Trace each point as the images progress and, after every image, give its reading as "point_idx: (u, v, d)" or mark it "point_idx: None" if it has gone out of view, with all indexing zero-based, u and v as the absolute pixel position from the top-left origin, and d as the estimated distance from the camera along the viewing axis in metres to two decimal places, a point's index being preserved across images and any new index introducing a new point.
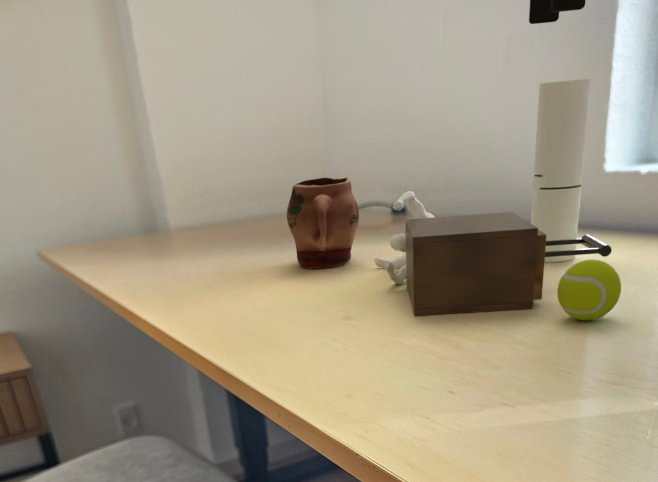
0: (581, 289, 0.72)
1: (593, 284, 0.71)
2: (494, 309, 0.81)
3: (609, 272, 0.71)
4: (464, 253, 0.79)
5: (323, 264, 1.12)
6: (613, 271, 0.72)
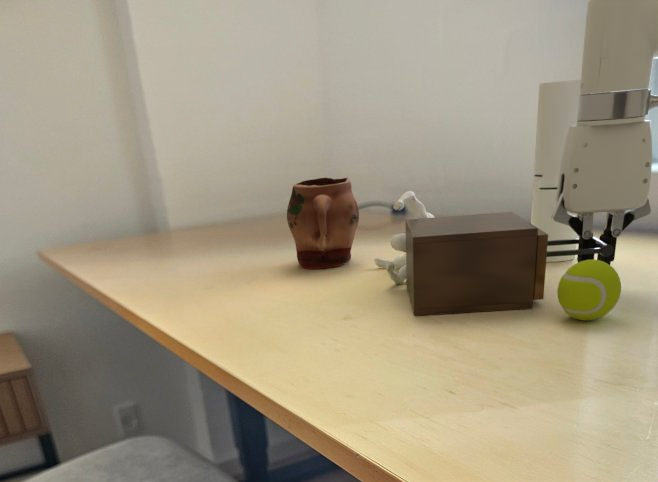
0: (581, 289, 0.72)
1: (593, 284, 0.71)
2: (494, 309, 0.81)
3: (609, 272, 0.71)
4: (464, 253, 0.79)
5: (323, 264, 1.12)
6: (613, 271, 0.72)
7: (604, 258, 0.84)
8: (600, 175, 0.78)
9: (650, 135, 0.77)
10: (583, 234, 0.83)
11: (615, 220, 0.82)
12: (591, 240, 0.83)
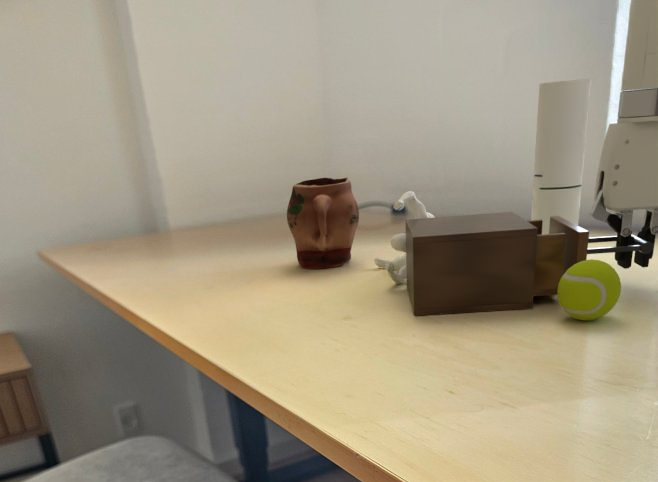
0: (581, 289, 0.72)
1: (593, 284, 0.71)
2: (494, 309, 0.81)
3: (609, 272, 0.71)
4: (464, 253, 0.79)
5: (323, 264, 1.12)
6: (613, 271, 0.72)
7: (642, 255, 0.83)
8: (641, 172, 0.78)
9: None
10: (622, 231, 0.82)
11: (654, 217, 0.81)
12: (630, 237, 0.82)
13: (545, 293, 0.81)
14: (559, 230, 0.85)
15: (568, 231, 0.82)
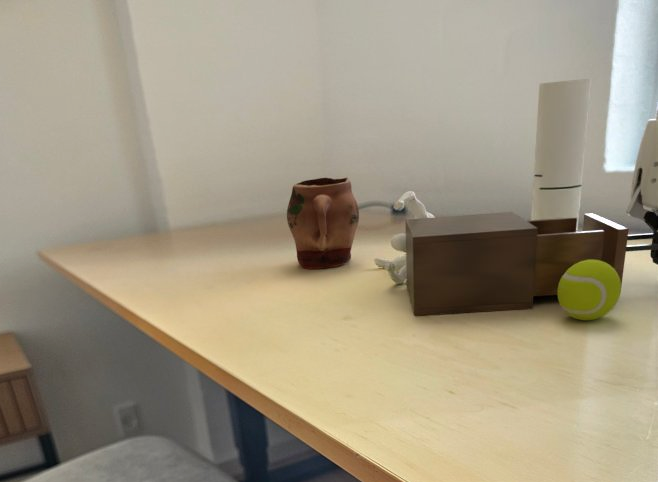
0: (581, 289, 0.72)
1: (593, 284, 0.71)
2: (494, 309, 0.81)
3: (609, 272, 0.71)
4: (464, 253, 0.79)
5: (323, 264, 1.12)
6: (613, 271, 0.72)
7: None
8: None
9: None
10: None
11: None
12: None
13: None
14: (594, 228, 0.85)
15: (605, 229, 0.81)
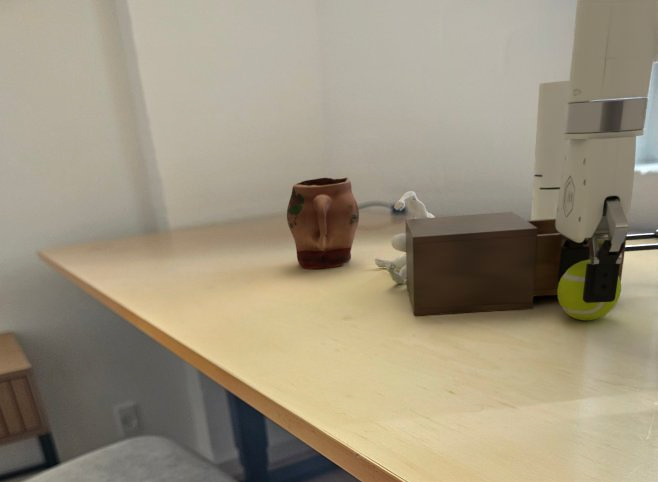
0: (581, 289, 0.72)
1: None
2: (494, 309, 0.81)
3: None
4: (464, 253, 0.79)
5: (323, 264, 1.12)
6: None
7: None
8: None
9: None
10: None
11: None
12: (619, 264, 0.68)
13: None
14: None
15: None
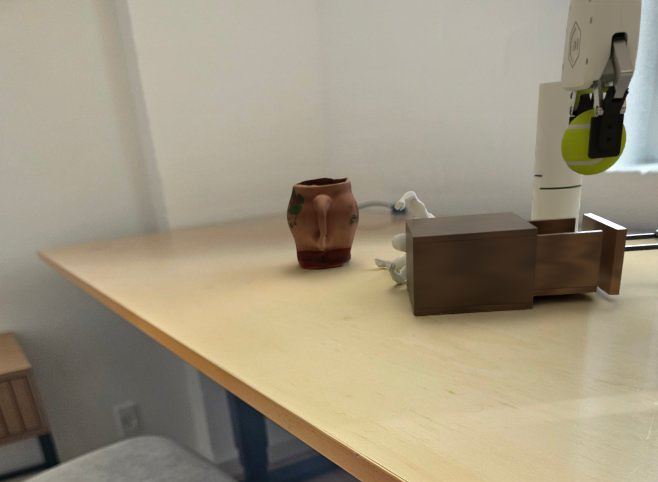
0: (585, 136, 0.70)
1: None
2: (494, 309, 0.81)
3: None
4: (464, 253, 0.79)
5: (323, 264, 1.12)
6: None
7: None
8: None
9: None
10: (625, 107, 0.67)
11: None
12: (623, 115, 0.68)
13: (581, 291, 0.81)
14: (593, 228, 0.85)
15: (604, 229, 0.81)
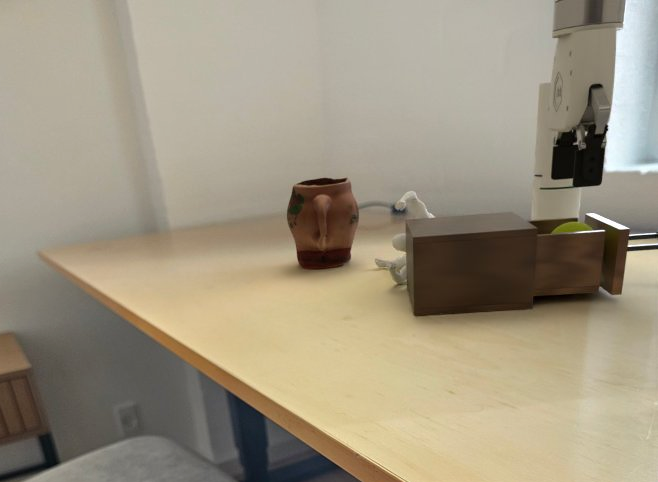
0: None
1: None
2: (494, 309, 0.81)
3: (588, 230, 0.82)
4: (464, 253, 0.79)
5: (323, 264, 1.12)
6: (591, 230, 0.82)
7: None
8: None
9: None
10: (605, 142, 0.74)
11: None
12: (604, 149, 0.75)
13: (583, 291, 0.81)
14: (596, 228, 0.85)
15: (606, 229, 0.81)
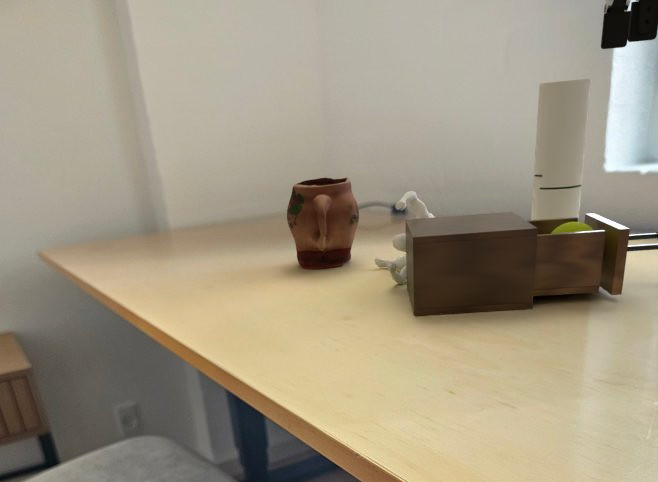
0: None
1: None
2: (494, 309, 0.81)
3: (588, 230, 0.82)
4: (464, 253, 0.79)
5: (323, 264, 1.12)
6: (591, 230, 0.82)
7: (625, 34, 0.86)
8: None
9: None
10: None
11: None
12: None
13: (583, 291, 0.81)
14: (596, 228, 0.85)
15: (606, 229, 0.81)
